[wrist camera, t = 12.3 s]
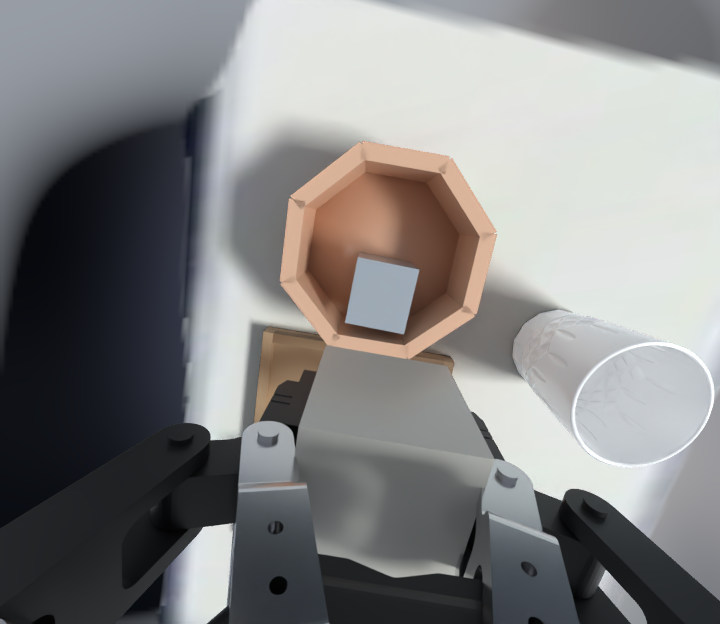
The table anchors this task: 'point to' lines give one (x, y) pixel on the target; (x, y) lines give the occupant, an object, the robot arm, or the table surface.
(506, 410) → the table surface
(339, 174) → the terracotta bowl
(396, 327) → the pale blue cube
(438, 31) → the table surface
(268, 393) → the walnut tray
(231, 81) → the table surface
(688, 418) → the white cup
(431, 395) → the pale grey cube
